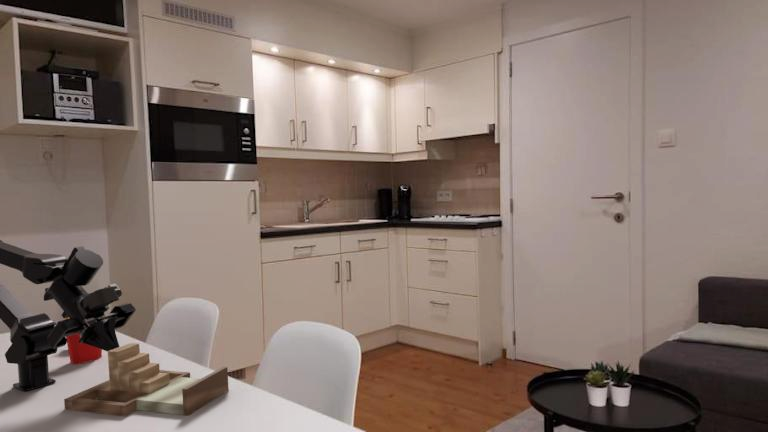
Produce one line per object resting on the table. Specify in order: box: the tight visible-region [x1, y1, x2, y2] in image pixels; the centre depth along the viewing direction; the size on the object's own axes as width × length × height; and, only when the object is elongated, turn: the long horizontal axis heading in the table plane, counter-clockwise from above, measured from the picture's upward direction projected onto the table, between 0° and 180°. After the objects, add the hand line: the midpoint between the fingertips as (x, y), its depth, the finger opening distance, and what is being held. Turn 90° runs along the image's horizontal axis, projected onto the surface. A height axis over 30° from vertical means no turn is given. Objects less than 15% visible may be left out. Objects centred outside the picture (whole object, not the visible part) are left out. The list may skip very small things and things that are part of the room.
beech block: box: [107, 342, 170, 393], centre depth 111 cm, size 10×6×8 cm, turn 72°
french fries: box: [64, 317, 103, 365], centre depth 139 cm, size 9×4×13 cm, turn 141°
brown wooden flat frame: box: [63, 366, 230, 417], centre depth 110 cm, size 27×19×5 cm
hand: (118, 352), depth 113 cm, fingers closed
